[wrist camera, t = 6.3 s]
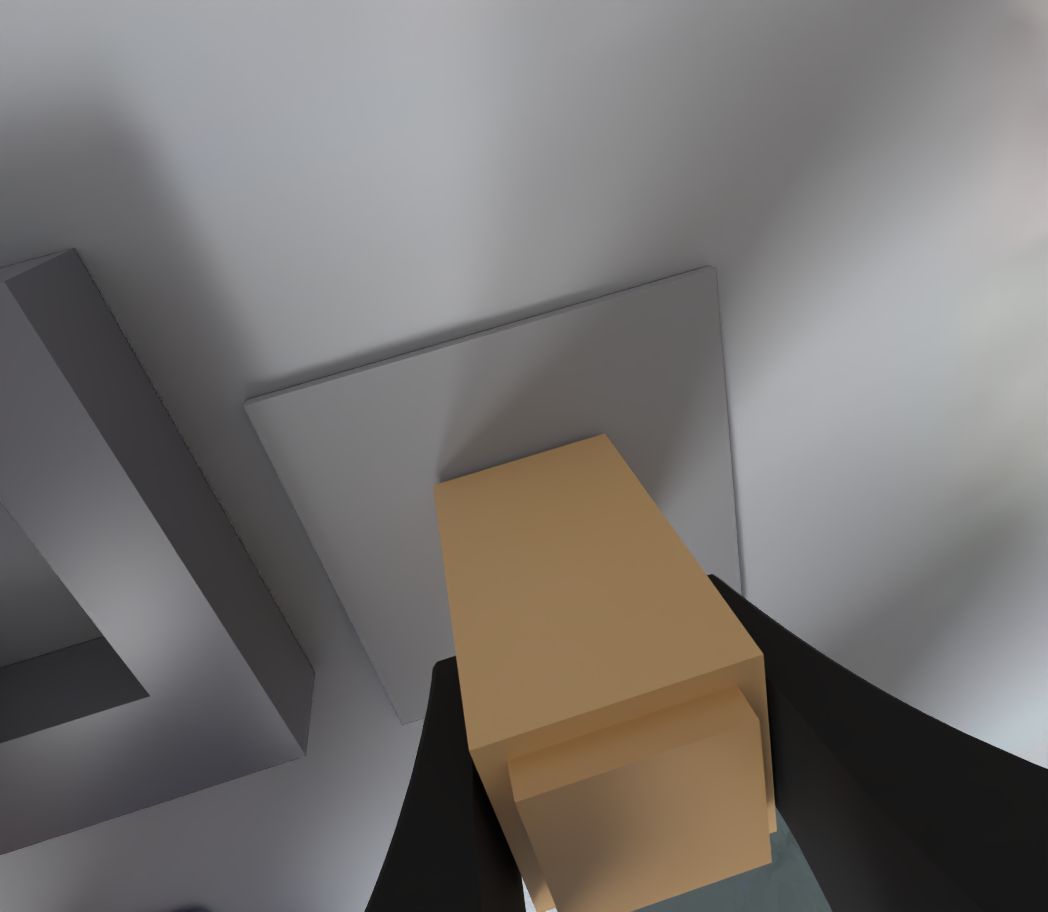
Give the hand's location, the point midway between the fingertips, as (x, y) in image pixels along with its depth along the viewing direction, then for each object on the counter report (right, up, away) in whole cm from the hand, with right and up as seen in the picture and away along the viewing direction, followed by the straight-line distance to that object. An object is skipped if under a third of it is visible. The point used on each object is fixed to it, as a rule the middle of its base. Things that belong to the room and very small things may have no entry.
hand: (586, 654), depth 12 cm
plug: (-1, +2, +3) cm, 4 cm away
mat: (-1, +2, +4) cm, 4 cm away
